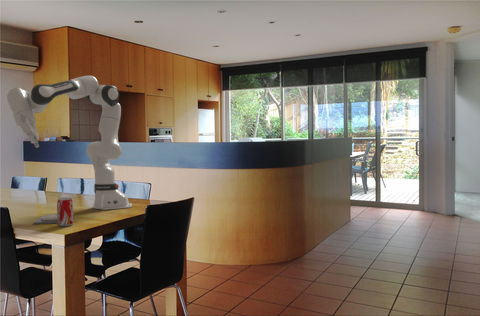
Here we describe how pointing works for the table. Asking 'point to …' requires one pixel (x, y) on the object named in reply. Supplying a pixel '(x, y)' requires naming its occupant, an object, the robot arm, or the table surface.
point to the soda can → (65, 212)
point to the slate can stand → (47, 219)
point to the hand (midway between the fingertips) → (35, 144)
